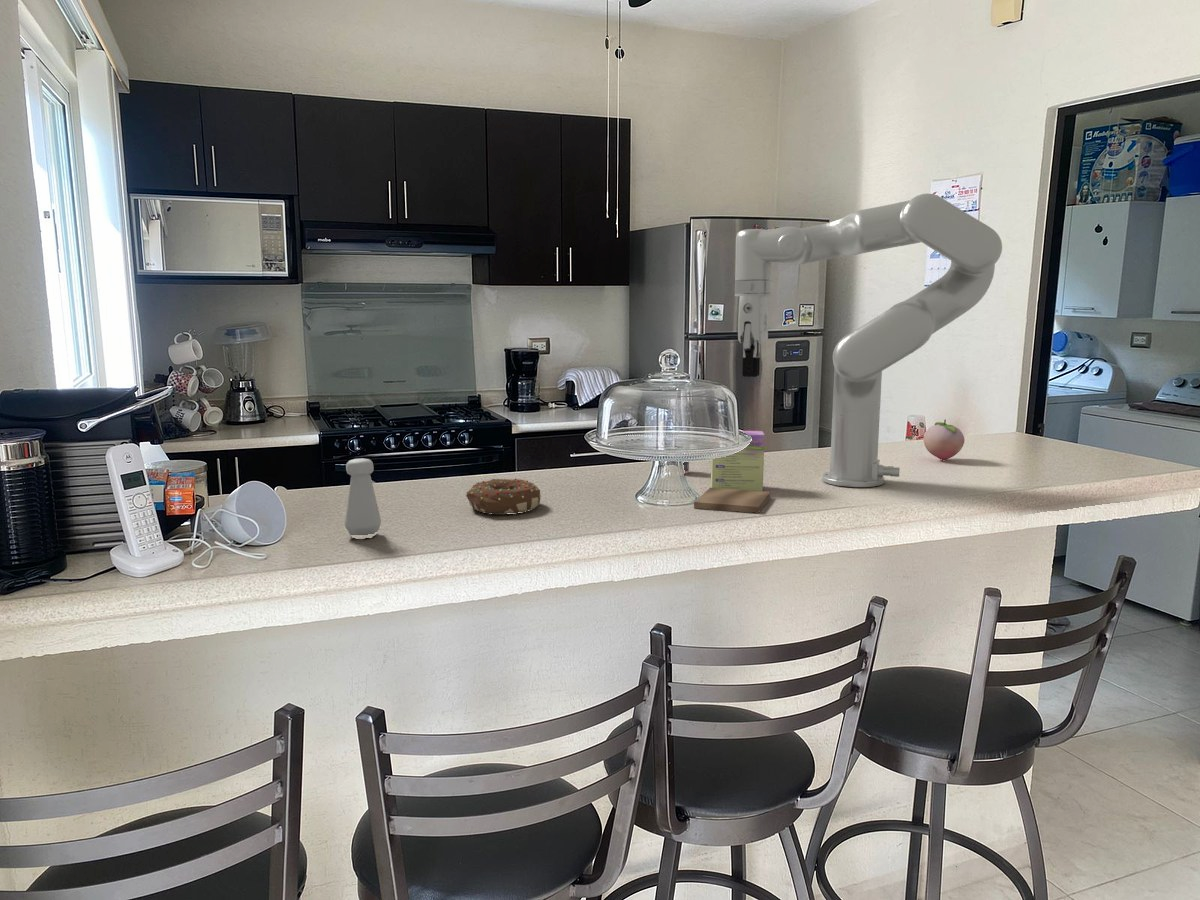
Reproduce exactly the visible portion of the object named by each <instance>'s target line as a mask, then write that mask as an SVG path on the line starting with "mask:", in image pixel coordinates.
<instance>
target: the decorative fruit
mask: <svg viewBox="0 0 1200 900" xmlns="http://www.w3.org/2000/svg"><path fill="white" fill-rule="evenodd" d="M943 420H944V422H941V421H940V422H939V421H936V422H935V423H934V425H932V426H929V427H928V429H927V430H926V431H925V432H924V435H923V445H924V447H925V449H926V450H927V451H928V453H930V454H931V455H932V456H934V457H935V458H937V459H939V460H941V459H942V460H945V461H947V460H949V459H951V458H953V457H954V456H956V455H958V453H959V452H960V451H961V450H962V448H963V446H964V444H965V436H964V434H963V432H962V430H960V428H958V427H956V426H955V425H952V424H947V422H946V419H943ZM942 460H941V461H942Z"/></svg>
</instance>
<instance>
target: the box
mask: <svg viewBox="0 0 1200 900" xmlns="http://www.w3.org/2000/svg"><path fill="white" fill-rule="evenodd" d="M740 431H741V432H743V433H746V434H748V435H750V436H751V437H752V441H751V442H750V444H749V445H748V446H747V447H746V448H744V449H743V450H741V451H739V452H737V453H735V454H733V455H729V456H726V457H721V458H715V459H710V461H711V462H710V463H711V465H710V467H711V468H710V486H711V488H722V489H736V490H750V491H764V468H765V467H764V463H765V459H764V458H765V433H764V431H762V430H740Z"/></svg>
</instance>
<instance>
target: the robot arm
mask: <svg viewBox="0 0 1200 900" xmlns="http://www.w3.org/2000/svg"><path fill="white" fill-rule="evenodd" d="M918 243H919V244H920V243H922V244H924V245H925V246H927V247H929V248H931V249H932V250H933V251H935V252H936V253H938V254H940V255H941V256H942V257H944V258H946V259H948V260H949V261H951V263H950V266H949V268H948V270H947V272H946V273H944V275H942V276H941V277H939V278H938V279H937V280H935V281H934V282H932V283H931V284H929V285H928V286H926V287H925V288H923V289H922V290H920V291H919V292H917V293H916V294H914V295H912V296H910V297H909V298H907V299H905V300H903V301H900V302H897V303H896V304H894V305H892V306H891V307H890V308H889V309H886V311H884V312H882V313H880V314H879V315H877V316H876V317H874V318H872V319H871V320H869V321H868V322H867V323H865V324H863V325H862V326H860V327H858V328H856V329H855V330H853V331H851V332H849V333H847V334H845V335H844V336H843V337H842V338H840V339H839V341H838V342H837V343H836V345H834V346H835V347H834V349H833V352H832V362H833V368H834V373H833V390H832V391H833V393H832V410H831V411H832V413H831V414H832V416H831V417H832V418H831V438H830V439H831V441H830V442H831V443H830V463H829V464H830V466H829V467H830V468H829V471H827V472H825V473H823V474H822V475H821V477H822V478H821V479H822V481H823V482H825V483H826V484H830V485H832V486H833V485H834V486H839V487H845V488H846V487H847V488H871V487H872V488H874V487H879V486H882V485H884V483H885V477H886V476H887V477H889V476H890V477H896V478H897V477H898V478H900V471H901V469H900V467H896V466H892V465H891V466H890V465H889V466H888V465H883V464H880V459H878V457H879V455H878V453H879V438H880V437H879V435H880V434H879V433H880V432H879V431H880V419H881V418H880V417H881V416H880V414H881V402H882V401H881V397H882V378H883V377H882V376H883V371H885V370H886V369H888V368H890V367H891V366H893V365H894V364H896V363H897V362H900V361H901V360H903V359H904V358H905V357H908V356H910V355H911V354H913V353H915V352H916V351H918V350H919V349H920V348H922V347H923V346H924V345H926V343H928V342H929V340H930V338H931V337H932V335H933V334H935V333H937V331H939V330H941V329H943V328H944V327H946V326H947V325H949V324H951V323H952V322H953V321H955V320H957V319H959V317H961V316H963V315H964V314H966V313H967V312H968V311H970V310H971V309H972V308H974V307H975V306H976V305H977V304H978V303H979V302H980V301H981V300H982V299H983V298H984V297H985V295H986V293H987V292H988V290H989V288H990V286H991V285H992V281H993V279H994V276H995V275H994V274H995V270H996V269H995V268H996V267H995V266H996V264H997V263H998V261H999V260H1000V257H1001V255H1002V252H1003V243H1002V239H1001V237H1000V235H999V234H998V232H996V230H995V229H993V228H992V227H991V226H989V225H987V224H986V223H984V222H982V221H981V220H979V219H977V218H976V217H974V216H973V215H970V214H969V213H967V212H965V211H964V210H962V209H960V208H959V207H957V206H956V205H954V204H953V203H951V202H949V201H948V200H946V199H944V198H943V197H941V196H939V195H937V194H933V193H921V194H918V195H916V196H914V197H912V198H911V199H910V200H905V201H904V200H903V201H900V202H896V203H891V204H886V205H882V206H881V205H880V206H875V207H870V208H865V209H860V210H857V211H853V212H851V213H849V214H847V215H846V216H843V217H842V218H840V219H836V220H833V221H831V222H827V223H822V224H817V225H812V226H808V227H802V228H799V227H797V226H783V227H778V228H777V227H776V228H770V229H764V228H747V229H746V228H745V229H742V230H739V231H738V232H737V233H736V237H735V265H734V266H735V267H734V270H735V271H734V280H735V281H734V297H739V298H738V299H739V302H738V314H737V315H738V316H737V317H738V319H737V340H738V342H739V343H740V344H742V369H741V370H742V373H741V374H742V377H748V378H751V377H752V378H757V377H758V376H760V367H761V366H760V363H761V361H760V359H761V358H760V353H761V352H760V351H761V349H760V348H761V347H760V345H761V344H763V343H767V341H768V340H769V324H768V323H769V321H768V320H769V319H768V318H769V315H768V310H769V309H768V299H767V297H771V295H772V294H771V293H772V292H771V291H772V263H778V264H779V263H780V264H784V265H788V266H798V265H804V264H808V263H810V264H811V263H815V262H819V261H820V262H821V261H825V260H830V259H835V258H840V257H847V256H857V255H862V254H866V253H871V252H877V251H878V252H879V251H881V250H887V249H888V250H889V249H892V248H898V247H904V246H909V245H915V244H918Z"/></svg>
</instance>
